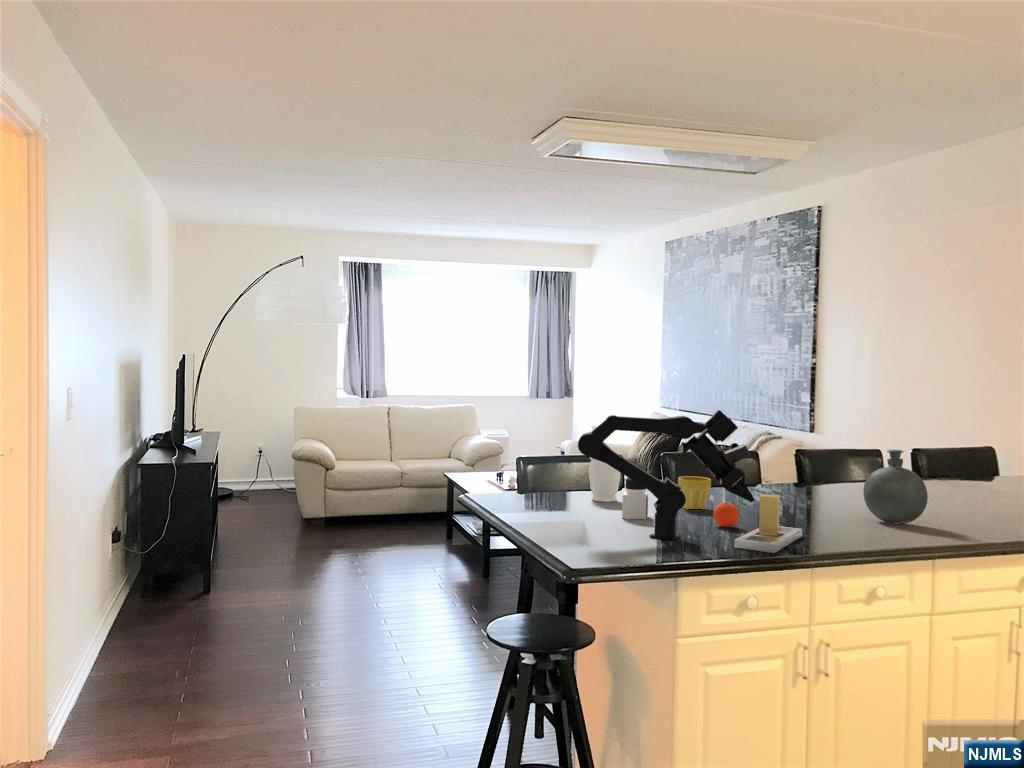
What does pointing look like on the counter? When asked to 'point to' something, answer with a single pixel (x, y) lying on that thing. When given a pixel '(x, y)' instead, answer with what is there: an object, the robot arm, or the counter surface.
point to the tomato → (726, 514)
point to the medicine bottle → (634, 501)
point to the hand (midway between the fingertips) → (750, 498)
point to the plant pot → (694, 491)
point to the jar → (603, 481)
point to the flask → (895, 492)
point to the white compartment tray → (768, 540)
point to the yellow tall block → (769, 515)
